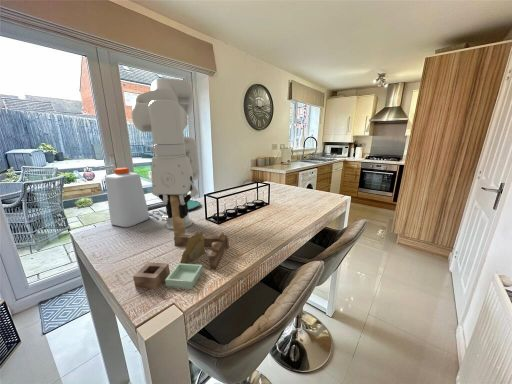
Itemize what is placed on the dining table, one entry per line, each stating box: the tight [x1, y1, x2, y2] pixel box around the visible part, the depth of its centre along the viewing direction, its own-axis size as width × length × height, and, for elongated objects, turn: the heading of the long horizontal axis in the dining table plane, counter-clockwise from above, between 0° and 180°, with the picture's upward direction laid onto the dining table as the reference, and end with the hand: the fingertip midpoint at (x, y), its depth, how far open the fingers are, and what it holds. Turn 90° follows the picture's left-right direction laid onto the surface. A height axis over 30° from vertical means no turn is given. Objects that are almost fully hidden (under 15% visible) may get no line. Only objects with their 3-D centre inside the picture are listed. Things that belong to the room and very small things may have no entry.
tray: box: [164, 262, 204, 290], centre depth 65 cm, size 8×8×2 cm
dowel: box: [170, 195, 186, 237], centre depth 60 cm, size 3×3×12 cm
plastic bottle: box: [104, 167, 150, 228], centre depth 108 cm, size 15×15×28 cm
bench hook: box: [173, 232, 230, 271], centre depth 78 cm, size 22×16×7 cm
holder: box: [133, 261, 171, 291], centre depth 65 cm, size 7×7×4 cm
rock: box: [179, 231, 206, 264], centre depth 76 cm, size 11×9×10 cm
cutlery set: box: [149, 199, 202, 221], centre depth 128 cm, size 20×30×2 cm, turn 137°
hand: (178, 216), depth 60 cm, fingers closed on dowel, 3 cm apart
